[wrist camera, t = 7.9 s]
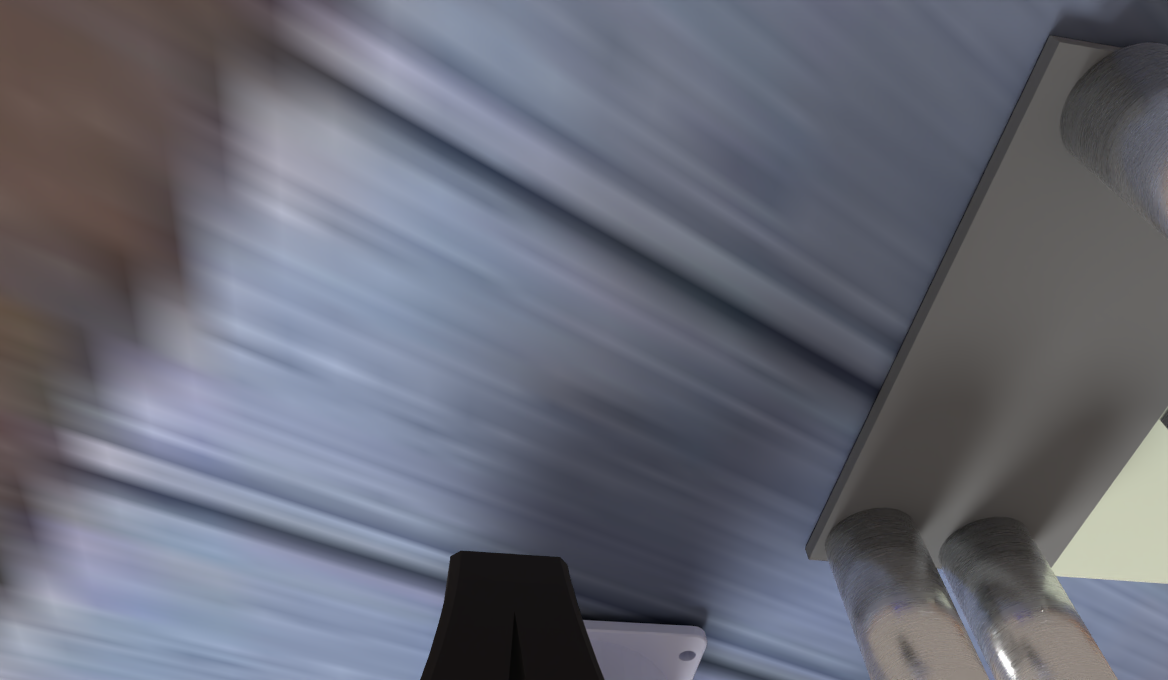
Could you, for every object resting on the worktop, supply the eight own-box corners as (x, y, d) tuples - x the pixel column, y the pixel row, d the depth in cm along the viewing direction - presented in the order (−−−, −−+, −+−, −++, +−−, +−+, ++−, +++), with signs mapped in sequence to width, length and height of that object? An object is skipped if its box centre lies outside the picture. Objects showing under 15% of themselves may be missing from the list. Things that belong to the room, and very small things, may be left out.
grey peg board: (1035, 582, 28) (1124, 738, 24) (812, 567, 26) (866, 729, 22) (1391, 83, 19) (1636, 200, 15) (1076, 28, 17) (1248, 138, 13)
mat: (1170, 574, 28) (1177, 584, 28) (805, 548, 27) (809, 559, 26) (1551, 122, 20) (1567, 130, 19) (1049, 35, 18) (1059, 42, 18)
